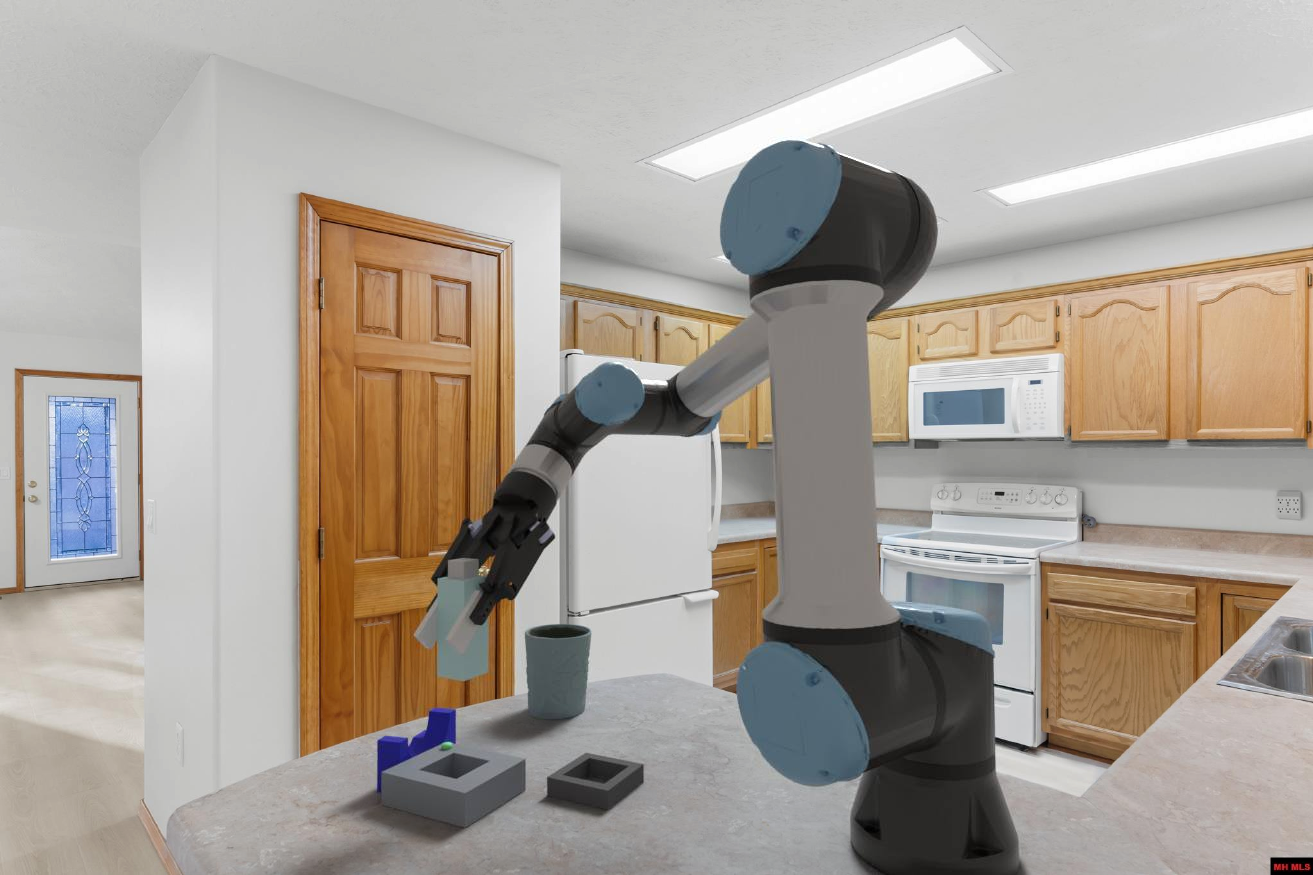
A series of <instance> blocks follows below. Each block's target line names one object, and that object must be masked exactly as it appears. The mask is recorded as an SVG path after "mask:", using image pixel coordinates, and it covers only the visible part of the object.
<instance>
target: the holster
mask: <svg viewBox="0 0 1313 875" xmlns="http://www.w3.org/2000/svg"><path fill="white" fill-rule="evenodd" d="M644 768H645V766H644V763H640V762H635V761H631V760H630V761H629V760H626V759H625V760H624V759H620V758H617V757H616V758H615V757H609V756H605V755H600V754H596V753H589V752H584V753H583V754H582V755H580V756H578V757H577V758H575V759H574V760H572V761H570V762H569V763H567V764H566V765H564V766H562V767H561V768H559V769H558V770H556V771H554V772H553V773H551V774H550V775H548V776H546V793H547V794H546V796H549V797H553V798H557V799H562V800H566V801H570V802H573V803H578V804H582V805H583V804H584V805H587V806H591V807H595V808H600V809H603V810H606V811H607V810H610V809H611V808H612V807H613V806H615V805H616V804H617V803H618V802H620V801H621V800H622V799H623V798H625V797H626V796H627V795H629V794H630V793H631V792H632V791H634V790H635V789H636V788H638V787H639V786H641V785H642V783H643V782H645V779H644V778H645V775H644V774H645V773H644V772H645V769H644ZM589 776H593V777H598V778H602V779H605V780H607V782H605V783H602V782H597V781H593V780H592V781H591V780H587V779H585V778H587V777H589Z"/></svg>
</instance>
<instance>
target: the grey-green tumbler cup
mask: <svg viewBox="0 0 1313 875" xmlns="http://www.w3.org/2000/svg"><path fill="white" fill-rule="evenodd" d="M592 632H593V631H592V630H591V628H589V627H587V626H584V625H579V624H570V623H569V624H568V623H556V624H555V623H554V624H552V623H551V624H542V625H536V626H532V627H529V628H527V629H526V630H525V631H524V642H525V644H524V645H525V646H524V647H525V654H526V656H525V658H526V660H525V661H526V668H525V669H526V670H525V671H526V672H525V673H526V684H527V690H528V691H527V709H528V713H529V714H530V715H531V716H532V717H534V718H537V719H543V720H563V719H569V718H574V717H576V716H579V715H581V714H582V713H583V712H584V711H585V709H586V699H587V689H588V680H589V678H588V676H589V664H590V660H589V658H590V651H591V650H590V649H591V642H592Z"/></svg>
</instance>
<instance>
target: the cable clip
mask: <svg viewBox="0 0 1313 875" xmlns="http://www.w3.org/2000/svg"><path fill="white" fill-rule="evenodd" d="M456 729H457V709H455V708H444V707H433V708H432V709H430V710H429V711H428V719H427V725H426V729H423V731H421V732H419V733H417V734H416V735H415V736H413V737H412V739H411V742H410V743H409V737H402V736H401V737H400V736H393V735H392V736H391V735H384V736H382V737H381V738H379V739H377V741H376V742H377V744H376V745H377V747H376V748H377V749H376V750H377V753H376V757H377V758H376V759H377V760H376V761H377V762H376V768H377V769H376V773H377V774H376V793H381V772H383V771H385V770H387V769H389V768H391V767H393V766H396V765H398V764H400V763H402V762H404V761H406V760H408V759H411V758H413V757H415V756H417V755H419V754H421V753H424V752H426V751H428V750H430V749H432V748H434V747H436V746H439V745H441V744H442V743H445V742H451V743H454V744H457V730H456Z"/></svg>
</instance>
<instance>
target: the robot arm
mask: <svg viewBox="0 0 1313 875" xmlns="http://www.w3.org/2000/svg"><path fill="white" fill-rule="evenodd" d="M723 204H724V205H723V206H722V212H721V218H720V223H719V237H720V238H719V239H720V246H721V250H722V253H723V255H724V257H725V258H726V259H727V260H728V261H729V263H730V264H731V265H730V266H732V267H733V268H734V269H736V271H738V272H740V274H743V275H748V286H749V288H748V289H749V292H748V293H749V306H750V309H751V310H752V311H753V312H752V313H750V315H748V316H747V317H746V318H744V319H743V320H742V321H740V323H738V324H737V325H736V326H735V327H734V328H732V329H730V330H729V331H728V332H727V333H725V334H724V335H723V336H722V337H721V338H720V339H719V340H717V341H716V342H714V343H713V344H712V345H711V346H710V347H709V348H707V349H706V350H705V351H704V352H702V353H701V354H700V355H699V356H697V357H696V358H695V359H693V360H692V361H691V362H690V363H688V364H687V365H686V366H685V367H683V368H682V369H681V370H680V371H678V372H677V373H676V374H674V375H673V376H672V377H671V378H668V379H665V380H664V379H663V380H662V379H651V378H640V376H639V375H638V373H637V372H635V370H634V369H632V368H631V367H627V366H625V365H624V363H621V362H617V361H606V362H604V363H602V364H599V365H598V366H596V368H594V369H593V370H592V371H591V372H589V373H587V374H586V375H584V376H583V377H582V378H581V379H580V380H579V382H578V384H576V386H575V387H574V388H573V389H572V390H571V391H570V392H569V393H562V394H560V395H559V396H557V397H556V398H555V400H554V401H553V402H552V403H551V405H550V406H549V407H548V408H547V409H546V410H545V412H544V414H543V417H542V418H541V420H540V421H539V424H538V425H537V426H536V428H535V430H534V431H533V433H532V435H531V436H530V438H529V440H528V441H527V443H526V445H524V447H523V448H522V450H521V451H520V452H519V454H518V456H517V457H516V459H515V460H514V461H513V462H512V465H511V466H510V467H509V470H508V472H507V474H506V475H505V476H504V478H503V479H502V481H501V482H500V484H499V485H498V487H497V489H496V490H495V491H494V494H493V497H492V498H493V500H492V507H491V508H490V509H489V510H488V511H487V512H486V513H485V514H483V516H482V519H478V520H475V521H472V520H471V518H469V517H466V518H464V519H463V520H462V521H461V524H460V527H459V531H458V534H457V535H456V537H455V538H454V540H453V542H452V543H451V544H450V546H449V548H448V550H447V551H446V552H445V555H444V556H443V558H442V559H441V561H440V563H439V564H438V566H437V568H436V569H435V570H434V572H433V574H432V575H431V578H430V579H431V580H430V581H431V582H432V583H433V584H434V585H435V586H436V588H438V578H443V577H448V560H454V559H460V558H470V559H479V570H480V569H481V568H482V567H483V566H484V565H485V563H486V562H487V561H488V560H489V558H490V557H491V558H493V561H492V563H491V565H490V567H489V570H488V573H487V575H486V576H487V578H486V580H485V583H479V586H480V587H481V589H482V590H483V591H484V592H483V594H482V593H481V591H480V590H475V591H474V592H473V594H472V596H471V597H470V599H469V601H468V602H467V604H466V606H465V607H464V609H463V610H462V612H461V614H460V615H459V617H458V619H457V620H456V622H455V624H454V625H453V627H452V629H451V631H450V632H449V634H448V636H447V637H446V639H445V640H446V641H447V642H448V644H449V645H450V646H451V647H452V648H453V649H454V650H455V651H456V652H457V653H458V654H463V653H464V651H465V650H466V648H467V646H468V644H469V643H470V641H471V639H472V637H473V636H474V634H475V632H476V630H477V629H478V627H479V625H481V626H482V625H483V624H484V623H485V622H486V620H487V618H488V616H490V614H491V613H492V611H493V609H494V608H495V606H496V604H499V603H500V602H501V601H502V600H506V599H507V600H508V601H513V600H515V599H516V598H517V596H518V595H519V593H520V591H521V589H522V588H523V586H524V584H525V582H526V581H527V579H528V578H529V576H530V574H531V572H532V570H533V569H534V567H535V566H536V564H537V562H538V560H539V559H540V557H541V556H542V554H543V552H544V551H545V549H546V548H547V547H549V545H550V544H551V543H552V542H553V541H554V540H555V539H556V534H555V533H554V531H553V530H552V529H551V527H550V526H549V524H548V523H547V522H548V521H549V518H550V517H551V514H552V513H553V511H554V510H555V508H556V506H557V503H558V501H559V499H561V497H562V495H563V493H564V491H565V489H566V488H567V486H568V484H569V482H570V480H571V478H572V477H573V476H574V473H575V471H576V470H577V468H578V467H579V465H580V463H581V462H582V460H583V458H584V457H585V456H586V454H587V453H588V452H590V450H592V449H593V448H594V447H595V446H597V445H598V444H599V443H601V442H602V441H603V440H605V439H606V438H607V437H608V436H611V435H621V436H622V435H624V436H625V435H631V436H668V437H669V436H672V437H673V436H674V437H682V438H692V437H695V436H706V435H708V434H710V433H712V432H714V430H716V428H717V425H718V424H719V422H720V421H721V419H722V415H723V410H724V409H725V408H727V407H729V406H730V405H732V404H733V403H734V402H736V401H737V400H739V399H740V398H742V396H744V395H746V394H747V393H750V391H752V390H753V389H755V388H756V387H758V386H759V385H761V384H762V383H763V382H765V381H766V380H768V379H769V386H770V389H769V390H770V410H771V414H770V416H771V433H772V435H771V436H772V438H771V439H772V440H771V442H772V461H773V465H772V466H773V487H774V490H773V491H774V508H775V510H774V511H775V515H774V516H775V534H776V536H775V537H776V560H777V585H778V586H777V587H778V591H777V594H776V596H775V597H774V598H773V599H772V600H771V601H770V603H768V604H767V605H766V607H765V608H764V609H763V610H762V611H761V618H762V619H761V621H762V642H761V643H760V644H758V645H757V646H755V647H753V648H752V649H751V650H749V652H748V653H747V654H746V656H745V657H744V661H743V662H742V663H740V665H739V667H738V670H737V676H736V688H735V689H736V698H737V699H736V700H737V705H738V710H739V713H740V717H741V720H742V723H743V725H744V728H745V730H746V732H747V734H748V736H749V738H750V740H751V742H752V743H753V745H754V746H755V747H757V749H758V751H759V752H760V755H761V756H762V758H763V759H764V760H765V761H766V762H767V763H768V764H769V765H770V767H772V768H773V769H774V770H775V771H776V772H778V774H780V775H781V776H783V777H785V779H788V780H790V781H791V782H793V783H796V784H798V785H802V786H806V787H814V788H819V787H825V786H829V785H832V784H836V783H840V782H841V783H842V782H851V781H853V780H854V781H855V779H858V778H859V777H861V778H860V780H859V785H858V787H857V791H856V794H855V797H854V801H853V803H852V806H851V810H850V817H849V819H850V820H849V822H850V823H849V824H850V827H849V828H850V830H849V831H850V832H849V833H850V841H851V844H852V847H853V849H854V851H855V853H857V854H858V855H859V856H860V858H862V859H863V860H864V861H865V862H867V863H868V864H870V865H871V866H872V867H874V868H876V869H877V870H879V871H881V872H883V873H885V874H887V875H1016V874H1017V872H1018V871H1019V867H1020V842H1019V836H1018V832H1017V829H1016V826H1015V824H1014V820H1013V818H1012V815H1011V812H1010V809H1009V807H1008V804H1007V802H1006V798H1005V795H1004V792H1003V790H1002V787H1001V784H1000V781H999V778H998V774H997V765H996V764H997V762H996V758H997V757H996V714H995V713H996V712H995V711H996V710H995V672H994V671H995V665H994V659H995V658H996V653H995V650H994V649H993V640H992V639H993V638H992V629H991V627H992V626H991V625H990V623H989V621H988V620H987V619H986V617H984V616H983V615H982V614H979V613H978V612H975V611H971V610H967V609H962V608H957V607H951V606H945V605H937V604H929V603H922V602H915V601H913V602H911V601H903V600H902V601H901V600H890V599H889V600H888V599H886V598H885V597H884V595H883V593H882V592H881V584H880V581H881V580H880V567H879V566H880V563H879V560H880V559H879V545H878V542H879V541H878V523H877V520H878V519H877V504H876V499H877V498H876V483H875V479H876V478H875V465H874V443H873V442H874V440H873V421H872V420H873V419H872V404H871V403H872V400H871V399H872V398H871V381H870V379H871V378H870V362H869V360H870V359H869V358H870V357H869V341H868V340H869V338H868V323H869V322H870V321H871V320H873V319H874V318H876V317H877V316H879V315H880V314H882V313H883V312H885V311H886V310H888V309H889V308H891V307H892V306H893V305H895V304H896V303H897V302H899V301H900V300H901V299H902V298H904V297H905V296H906V295H907V294H908V293H909V292H911V290H912V289H913V288H914V287H915V286H916V285H917V284H918V283H919V281H921V279H922V278H923V276H924V275H925V273H926V272H927V270H928V268H929V267H930V264H931V262H932V261H933V258H934V255H935V251H936V248H937V243H938V234H939V232H938V230H939V228H938V221H937V220H938V219H937V215H936V211H935V208H934V206H933V204H932V201H931V199H930V197H929V196H928V194H927V193H926V192H925V191H924V189H922V187H921V186H920V185H918V184H917V183H916V182H915V181H914V180H912V179H911V178H909V177H907V176H906V175H904V174H902V173H899V172H896V171H893V170H889V169H887V168H886V169H885V168H882V167H880V166H878V165H874V164H871V163H868V162H866V161H862V160H860V159H857V158H854V157H852V156H848V155H845V154H843V153H841V152H840V153H839V152H837V150H836V149H835V148H834V147H832V146H831V145H828V144H826V143H825V144H824V143H823V142H822V143H820V142H819V143H813V142H811V141H810V142H809V141H807V140H804V139H799V138H786V139H785V138H784V139H781V140H778V141H775V142H773V143H771V144H769V145H767V146H765V147H763V148H762V149H761V150H759V151H758V152H757V153H755V154H754V156H752V157H751V158H750V159H749V161H747V162H746V164H744V166H743V167H742V168H741V170H740V171H739V174H738V176H737V178H736V180H735V181H734V182H733V183H732V184H731V187H730V189H729V191H728V193H727V195H726V198H725V200H724V203H723ZM481 584H482V585H481ZM437 635H438V591H437V592H436V594H435V596H434V597H433V598H432V600H431V601H430V603H429V605H428V606H427V608H426V614H425V616H424V617H423V619H422V620H421V622H420V623H419V626H418V627H417V629H416V630H415V632H414V633H413V637H414V638H415V639H416V640H417V641H418V642H419V643H420V644H421V645H422V646H423V647H424V648H425V649H426V650H432V649H433V647H434V646H435V644H436V642H437Z"/></svg>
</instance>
